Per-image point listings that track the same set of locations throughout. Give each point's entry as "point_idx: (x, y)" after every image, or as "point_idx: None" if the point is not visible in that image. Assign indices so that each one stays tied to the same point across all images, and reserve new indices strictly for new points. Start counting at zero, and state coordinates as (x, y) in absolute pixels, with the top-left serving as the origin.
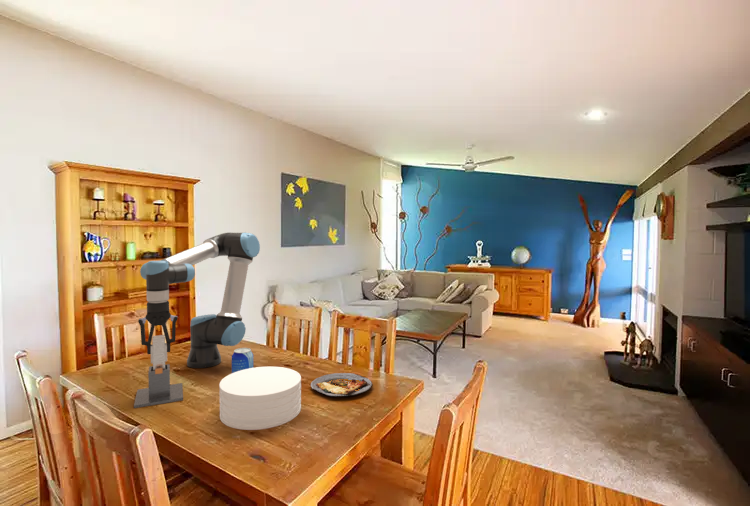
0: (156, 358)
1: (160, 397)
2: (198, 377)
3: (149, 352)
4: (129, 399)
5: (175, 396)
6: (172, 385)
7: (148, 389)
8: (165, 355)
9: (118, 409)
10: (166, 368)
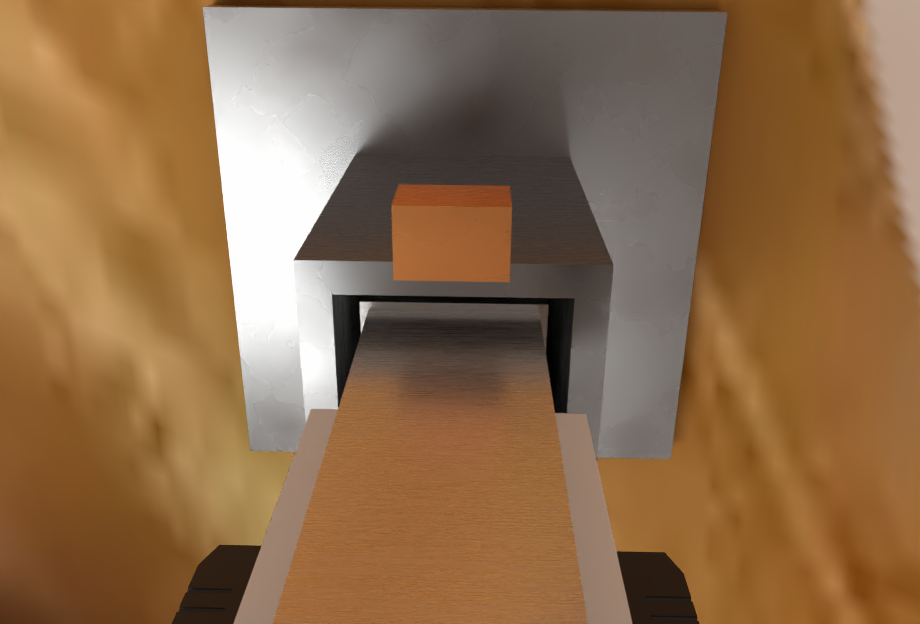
0: (490, 431)
1: (451, 133)
2: (120, 571)
3: (638, 581)
4: (745, 286)
5: (291, 86)
6: None
7: None
8: (316, 477)
9: (866, 53)
10: None
